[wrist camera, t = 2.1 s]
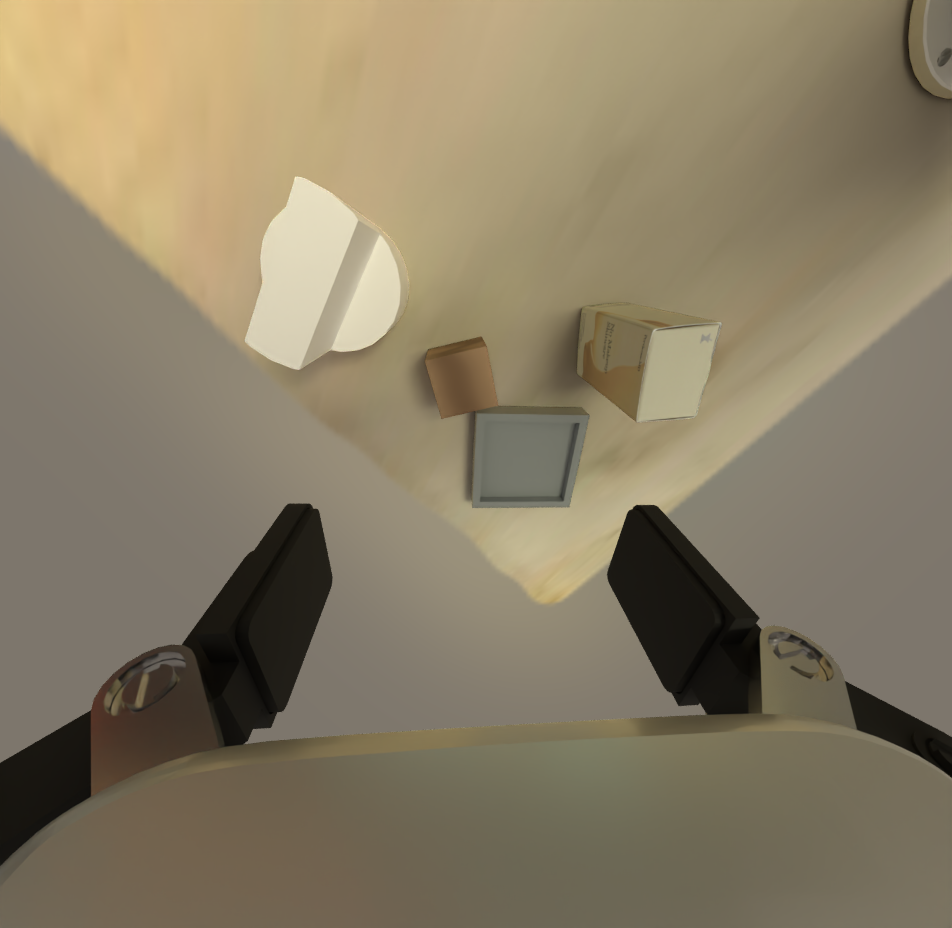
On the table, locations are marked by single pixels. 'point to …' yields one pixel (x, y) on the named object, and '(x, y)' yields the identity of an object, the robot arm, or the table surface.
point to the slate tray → (526, 456)
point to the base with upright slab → (324, 280)
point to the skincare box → (646, 359)
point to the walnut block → (461, 377)
